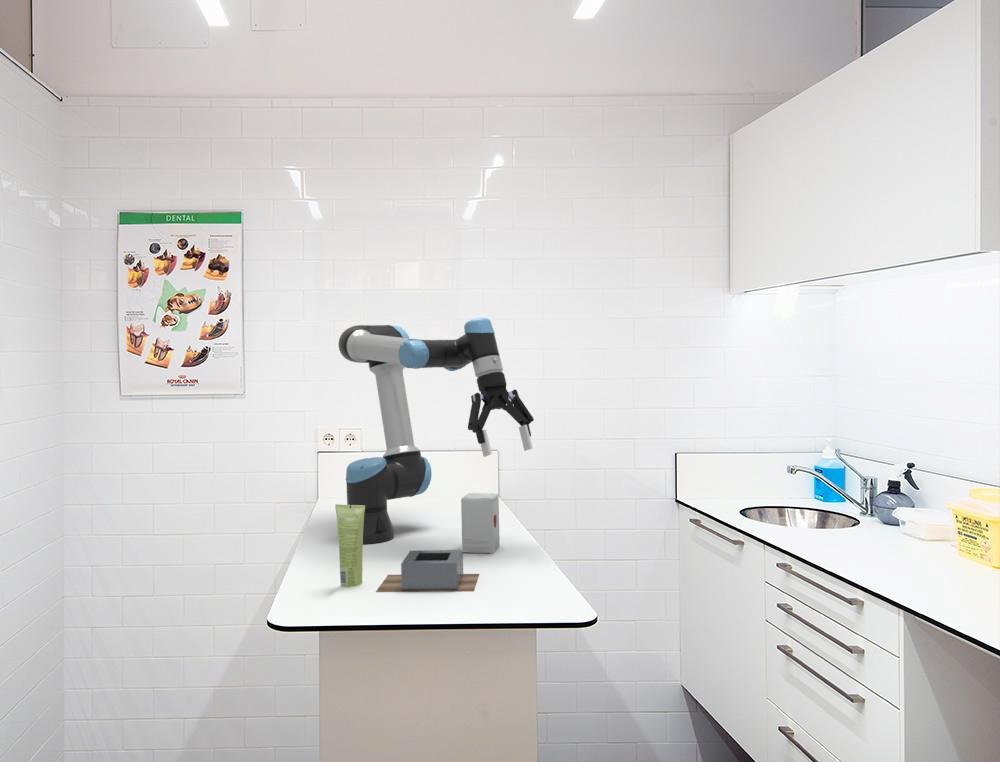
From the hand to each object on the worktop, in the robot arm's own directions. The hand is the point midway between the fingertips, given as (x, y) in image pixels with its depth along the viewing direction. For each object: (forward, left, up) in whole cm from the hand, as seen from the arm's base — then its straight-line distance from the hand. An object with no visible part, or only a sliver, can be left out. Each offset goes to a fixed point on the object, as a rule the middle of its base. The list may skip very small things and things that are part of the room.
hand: (508, 452), depth 206 cm
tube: (+26, -36, -28) cm, 52 cm away
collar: (+26, -17, -27) cm, 40 cm away
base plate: (+26, -18, -28) cm, 42 cm away
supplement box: (-10, -9, -28) cm, 31 cm away
